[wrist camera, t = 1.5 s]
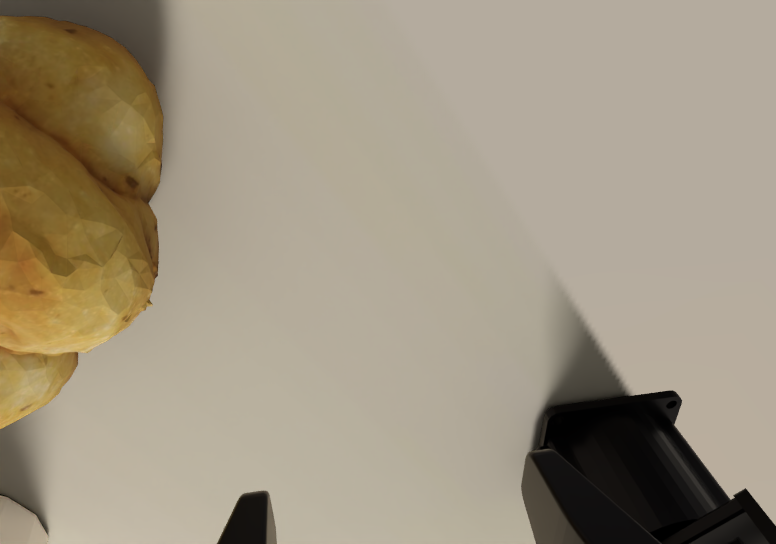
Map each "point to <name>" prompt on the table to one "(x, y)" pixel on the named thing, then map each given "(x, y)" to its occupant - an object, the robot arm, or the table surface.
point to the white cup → (19, 524)
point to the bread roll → (70, 201)
